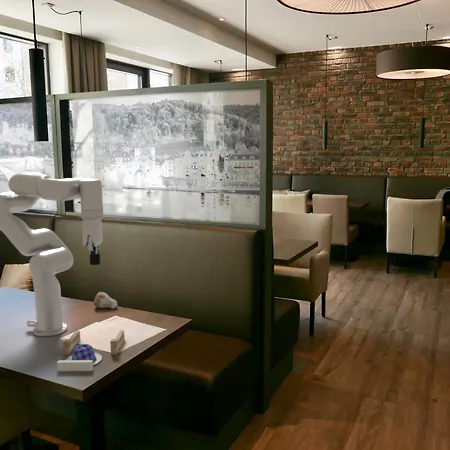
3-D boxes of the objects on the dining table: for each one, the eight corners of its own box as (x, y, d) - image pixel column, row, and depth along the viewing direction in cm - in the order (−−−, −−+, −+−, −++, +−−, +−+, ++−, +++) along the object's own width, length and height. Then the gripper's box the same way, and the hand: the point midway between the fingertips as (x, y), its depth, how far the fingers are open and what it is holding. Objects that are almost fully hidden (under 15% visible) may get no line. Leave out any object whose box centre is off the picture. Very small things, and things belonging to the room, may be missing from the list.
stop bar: (57, 371, 155) (57, 362, 154) (59, 369, 156) (58, 360, 156) (91, 371, 155) (91, 362, 154) (93, 368, 156) (92, 360, 156)
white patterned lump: (114, 311, 211) (102, 293, 209) (99, 318, 215) (86, 300, 213) (123, 302, 217) (110, 284, 215) (108, 309, 222) (95, 291, 220)
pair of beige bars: (63, 355, 167) (62, 341, 166) (75, 339, 180) (74, 326, 179) (116, 354, 166) (116, 341, 166) (125, 339, 180) (124, 326, 179)
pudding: (85, 351, 170) (85, 337, 170) (109, 359, 164) (108, 344, 163) (57, 364, 161) (56, 349, 160) (81, 373, 154) (80, 357, 153)
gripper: (88, 211, 179) (90, 259, 182) (75, 217, 164) (78, 269, 167) (108, 211, 178) (110, 259, 181) (97, 217, 164) (100, 269, 167)
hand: (95, 264), depth 174 cm, fingers closed
